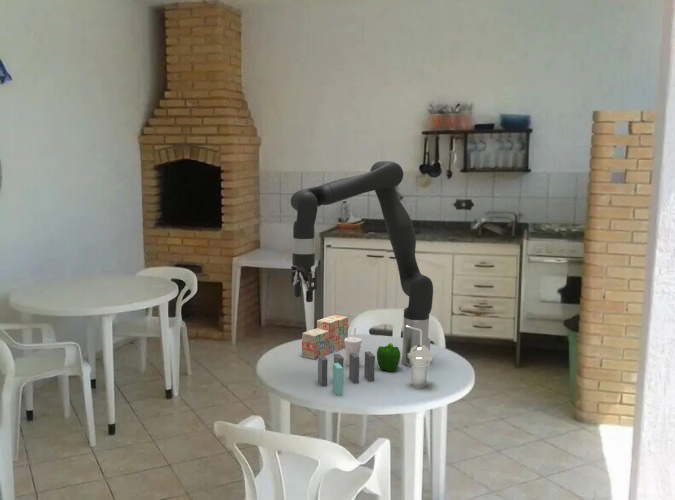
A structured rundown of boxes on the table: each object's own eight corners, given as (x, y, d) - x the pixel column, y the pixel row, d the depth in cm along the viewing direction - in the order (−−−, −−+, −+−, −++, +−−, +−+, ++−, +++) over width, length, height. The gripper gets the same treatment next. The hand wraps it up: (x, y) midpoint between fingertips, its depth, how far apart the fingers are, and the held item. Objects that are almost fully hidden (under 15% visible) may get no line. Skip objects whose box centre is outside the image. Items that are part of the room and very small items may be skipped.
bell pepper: (376, 365, 232) (376, 338, 231) (398, 365, 232) (399, 339, 230) (376, 373, 224) (377, 345, 222) (400, 373, 224) (401, 346, 222)
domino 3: (337, 389, 207) (338, 362, 206) (342, 395, 203) (343, 367, 201) (332, 390, 207) (333, 363, 206) (337, 395, 202) (337, 368, 201)
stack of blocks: (314, 360, 236) (315, 328, 234) (301, 356, 240) (301, 325, 238) (347, 346, 253) (348, 316, 252) (335, 343, 257) (335, 313, 255)
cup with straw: (421, 391, 207) (424, 331, 204) (399, 384, 213) (401, 326, 210) (436, 385, 213) (439, 326, 210) (414, 378, 219) (416, 321, 216)
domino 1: (322, 380, 215) (323, 354, 214) (327, 385, 210) (327, 359, 209) (317, 381, 215) (318, 355, 213) (321, 386, 210) (322, 360, 209)
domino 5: (369, 376, 220) (369, 351, 219) (374, 381, 215) (375, 355, 214) (364, 377, 219) (364, 351, 218) (369, 382, 215) (369, 356, 213)
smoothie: (359, 368, 228) (360, 330, 225) (341, 367, 229) (342, 329, 227) (362, 363, 234) (363, 326, 232) (345, 361, 235) (346, 324, 233)
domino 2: (338, 379, 217) (339, 353, 215) (343, 384, 212) (343, 358, 211) (333, 379, 216) (333, 354, 215) (337, 384, 212) (338, 358, 210)
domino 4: (353, 377, 218) (354, 352, 217) (358, 383, 214) (359, 357, 212) (348, 378, 218) (349, 352, 216) (353, 383, 213) (354, 357, 212)
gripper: (324, 253, 208) (323, 302, 211) (304, 247, 220) (303, 293, 223) (303, 255, 204) (303, 304, 207) (284, 249, 217) (284, 296, 219)
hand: (303, 299), depth 215 cm, fingers open, 8 cm apart
